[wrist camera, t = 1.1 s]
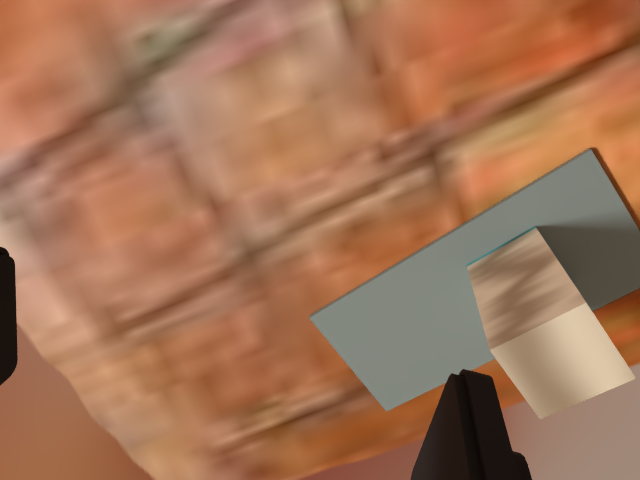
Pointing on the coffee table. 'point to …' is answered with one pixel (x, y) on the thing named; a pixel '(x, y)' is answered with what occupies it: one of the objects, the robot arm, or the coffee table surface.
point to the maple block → (543, 326)
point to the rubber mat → (456, 289)
